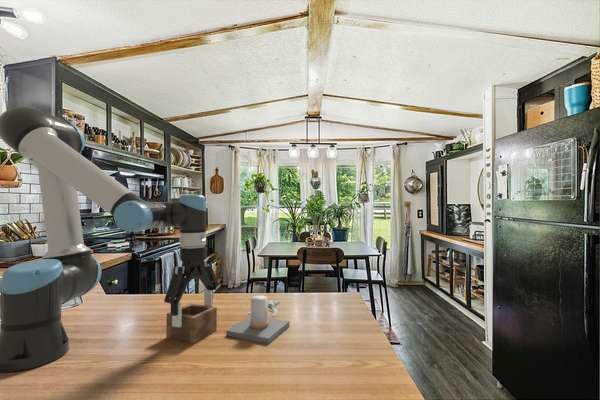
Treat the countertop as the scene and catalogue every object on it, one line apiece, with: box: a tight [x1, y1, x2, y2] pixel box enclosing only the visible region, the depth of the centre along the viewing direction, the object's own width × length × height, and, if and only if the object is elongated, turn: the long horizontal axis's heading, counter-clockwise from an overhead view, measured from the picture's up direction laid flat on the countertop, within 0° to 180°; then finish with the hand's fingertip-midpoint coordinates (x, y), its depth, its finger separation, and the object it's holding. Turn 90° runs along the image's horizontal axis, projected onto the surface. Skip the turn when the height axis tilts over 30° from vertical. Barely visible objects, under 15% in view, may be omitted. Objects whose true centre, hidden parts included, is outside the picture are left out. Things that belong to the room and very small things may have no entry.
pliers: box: [247, 299, 280, 318], centre depth 117 cm, size 10×2×15 cm
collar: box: [165, 303, 218, 345], centre depth 94 cm, size 10×10×7 cm
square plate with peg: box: [225, 295, 290, 345], centre depth 97 cm, size 14×14×10 cm
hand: (193, 318), depth 94 cm, fingers open, 13 cm apart
